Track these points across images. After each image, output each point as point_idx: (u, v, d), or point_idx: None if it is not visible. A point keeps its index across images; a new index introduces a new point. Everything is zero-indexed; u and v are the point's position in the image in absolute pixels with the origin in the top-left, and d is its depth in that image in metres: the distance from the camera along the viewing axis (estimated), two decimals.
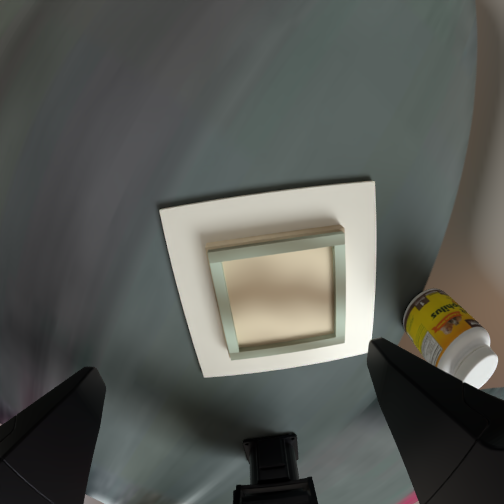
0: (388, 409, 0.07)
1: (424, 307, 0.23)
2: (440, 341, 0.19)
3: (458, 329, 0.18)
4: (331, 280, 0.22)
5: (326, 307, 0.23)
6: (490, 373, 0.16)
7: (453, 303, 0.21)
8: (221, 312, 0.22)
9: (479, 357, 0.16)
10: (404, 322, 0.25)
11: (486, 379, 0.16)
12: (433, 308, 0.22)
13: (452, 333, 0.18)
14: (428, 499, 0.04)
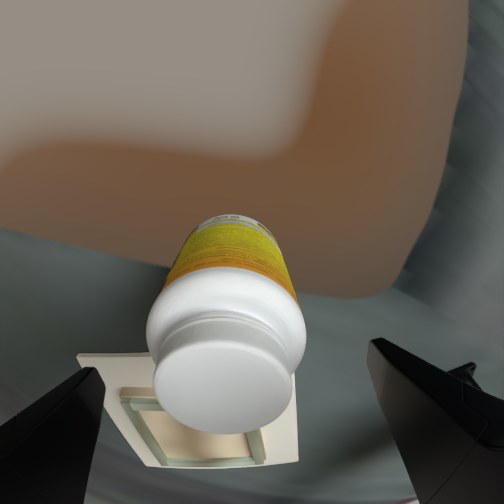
0: (388, 409, 0.07)
1: None
2: None
3: None
4: None
5: None
6: (227, 360, 0.07)
7: None
8: (210, 466, 0.22)
9: None
10: None
11: (251, 364, 0.07)
12: None
13: None
14: (428, 500, 0.04)
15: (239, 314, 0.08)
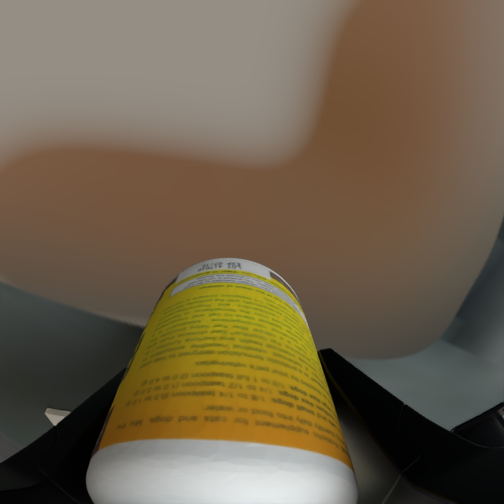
0: None
1: None
2: None
3: None
4: None
5: None
6: None
7: None
8: None
9: None
10: None
11: None
12: None
13: None
14: None
15: None
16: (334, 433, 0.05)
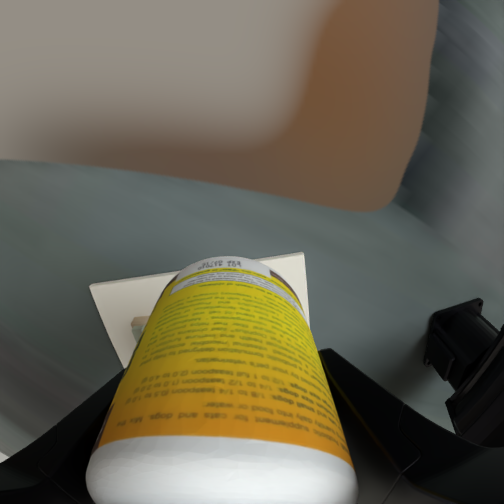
0: None
1: None
2: None
3: None
4: None
5: None
6: None
7: None
8: None
9: None
10: None
11: None
12: None
13: None
14: None
15: None
16: (334, 430, 0.05)
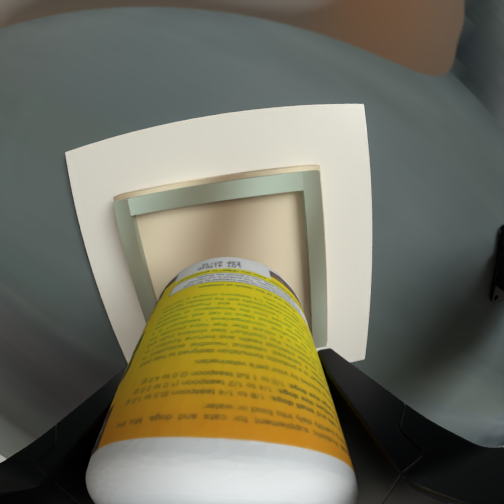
0: None
1: None
2: None
3: None
4: (194, 206, 0.14)
5: (245, 208, 0.14)
6: None
7: None
8: None
9: None
10: None
11: None
12: None
13: None
14: None
15: None
16: (334, 432, 0.05)
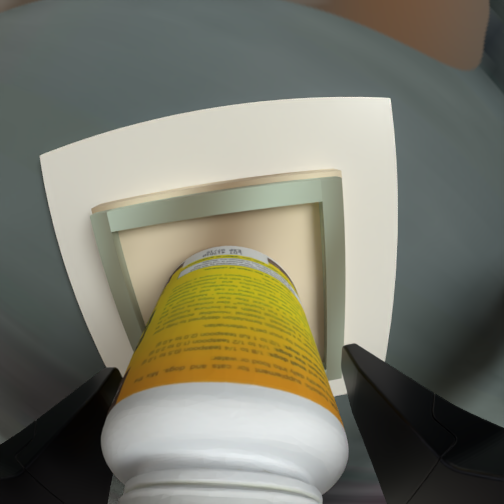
0: (359, 417, 0.07)
1: None
2: None
3: None
4: (187, 220, 0.11)
5: (249, 223, 0.11)
6: None
7: None
8: None
9: None
10: None
11: None
12: None
13: None
14: None
15: (248, 476, 0.04)
16: (324, 389, 0.06)
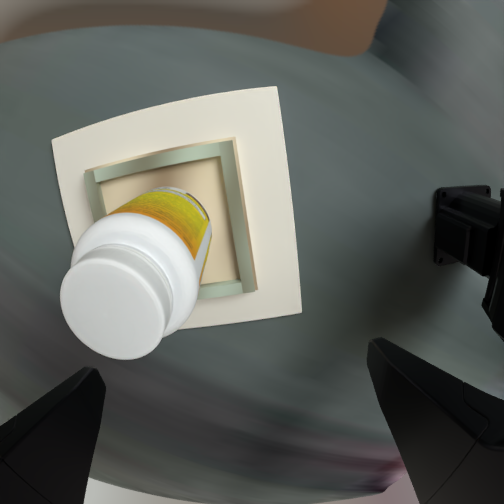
0: (388, 409, 0.07)
1: None
2: None
3: None
4: (141, 173, 0.17)
5: (178, 173, 0.17)
6: (104, 275, 0.08)
7: None
8: None
9: None
10: None
11: (122, 280, 0.09)
12: None
13: None
14: (428, 500, 0.04)
15: (125, 245, 0.10)
16: (182, 231, 0.12)
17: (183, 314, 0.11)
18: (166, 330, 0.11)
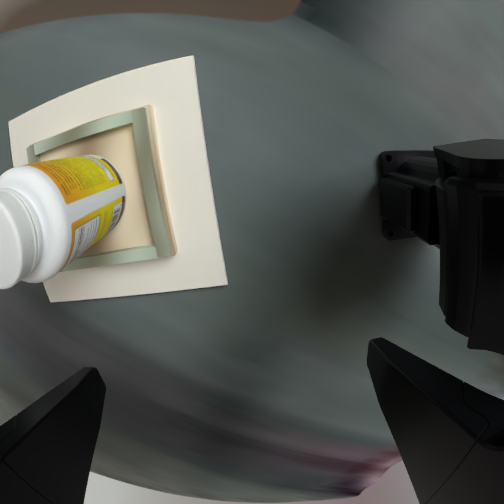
0: (388, 409, 0.07)
1: None
2: None
3: None
4: (71, 145, 0.17)
5: (100, 142, 0.17)
6: None
7: None
8: (105, 264, 0.19)
9: None
10: None
11: None
12: None
13: None
14: (428, 500, 0.04)
15: (9, 188, 0.09)
16: (62, 180, 0.11)
17: (55, 254, 0.11)
18: (45, 270, 0.11)
